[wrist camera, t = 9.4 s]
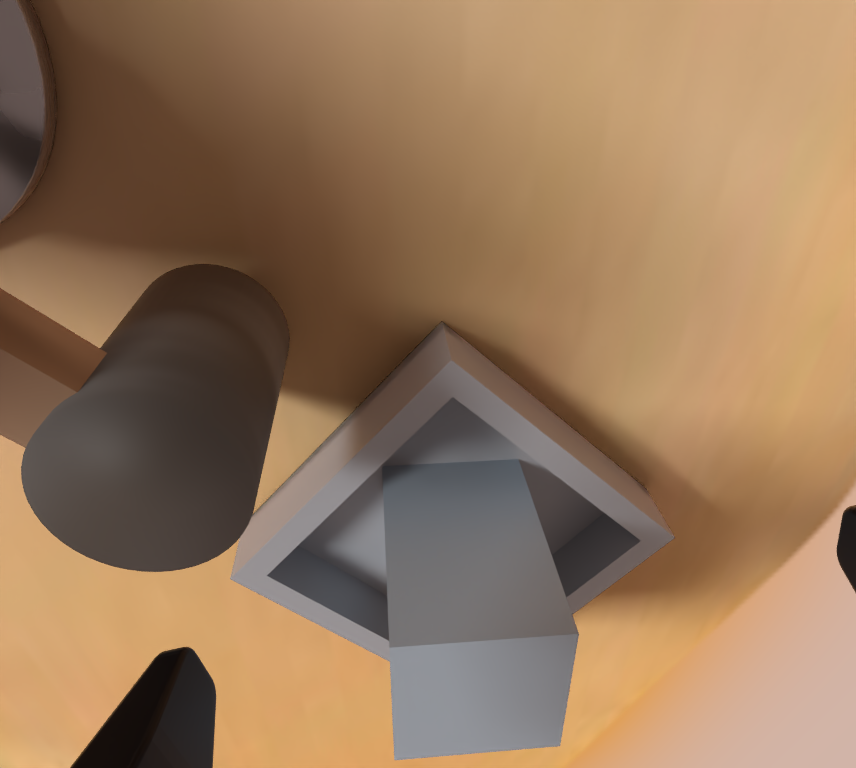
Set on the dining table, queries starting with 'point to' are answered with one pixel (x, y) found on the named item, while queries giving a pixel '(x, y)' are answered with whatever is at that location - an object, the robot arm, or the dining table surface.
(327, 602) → the tray
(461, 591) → the block
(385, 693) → the dining table surface
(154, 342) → the crank arm
